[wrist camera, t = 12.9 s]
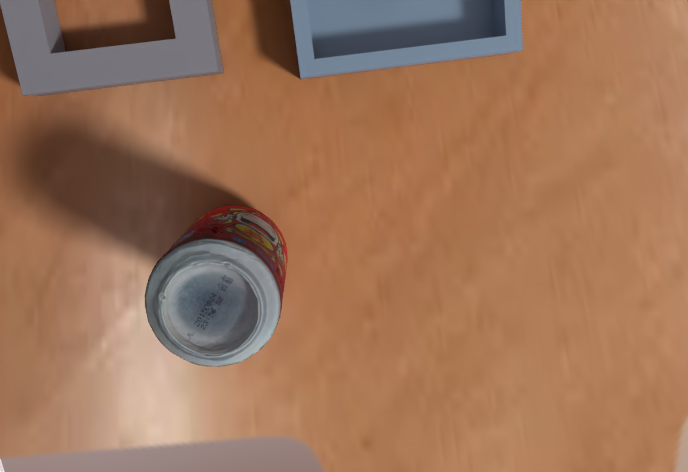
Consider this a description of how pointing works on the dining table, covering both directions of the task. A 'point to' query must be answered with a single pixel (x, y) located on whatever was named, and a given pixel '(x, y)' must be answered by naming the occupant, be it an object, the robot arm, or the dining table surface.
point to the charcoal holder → (108, 50)
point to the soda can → (219, 287)
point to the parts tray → (400, 33)
